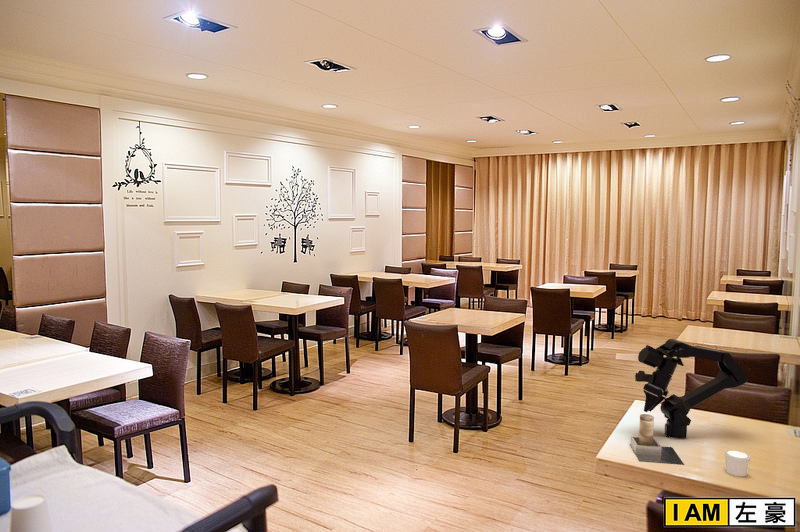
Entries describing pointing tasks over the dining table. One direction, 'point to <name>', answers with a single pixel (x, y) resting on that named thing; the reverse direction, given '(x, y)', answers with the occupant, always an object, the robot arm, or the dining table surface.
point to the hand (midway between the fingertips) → (647, 411)
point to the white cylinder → (737, 462)
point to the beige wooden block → (646, 430)
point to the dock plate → (654, 452)
